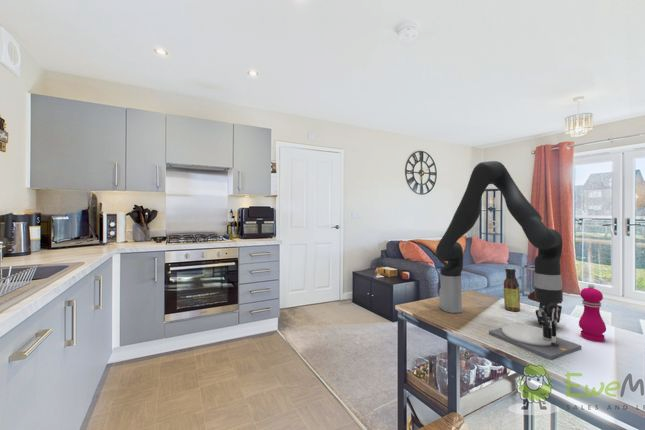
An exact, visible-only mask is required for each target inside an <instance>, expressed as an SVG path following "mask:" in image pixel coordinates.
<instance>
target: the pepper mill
mask: <svg viewBox="0 0 645 430" xmlns="http://www.w3.org/2000/svg"><path fill="white" fill-rule="evenodd" d="M580 297H581V299H582V305H583V312H582V314H581V316H580V318H579V320H578V326H579V328H580V329H581V330H580V336H581V338H583V339H586V340H588V341H591V342H598V343H602V342H604V341H605V335H604V334H605V332H606V331H607V326H606V324H605V322H604V320H603V318H602V316H601V312H600V308H601V307H602V302H601V301H602V300H603V299H604V296H603V293H602V291H600V289H597V288H595V285H594V284H593V283H589V284H587V287H585V288H582V289H581V290H580Z"/></svg>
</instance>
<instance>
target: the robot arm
mask: <svg viewBox="0 0 645 430" xmlns="http://www.w3.org/2000/svg"><path fill="white" fill-rule="evenodd" d="M489 185H494V186H495V188H497V189H498V191H499V192H500V193H501V195H502V197H503V199H504V201H505V205H506V209H507V211H508V212H509V213H510V215H511V216H512V218H513V219H514V220H516V222H517V224H518V225H520V227H521V228H522V231H523V234H524V235H525V237H526V239H528V241H529V243H530V244H531V245H532V246H533V247H535V248H536V249H538V250H537V255H536V257H535V258H534V261H533V263H534V276H533V277H534V278H533V283H534V288H533V289H534V291H535V298H536V299H537V300H539V301H540V302H539V304H540V308H539V307H538V309H535V316H536V318H537V322H538V325H539V326H541V327H542V326H543V336H544V337H545V338H549V339H551V338H552V336H554V337H557V326H558V323H560V321H561V315H562V309H563V308H562V305H559V304H562V303H561V302H563V299H564V297H563V296H564V295H563V280H562V272H561V257H562V251H563V237H562V234H560V232H559V231H558V230H556V229H553V228H548V227H546V225H545V224H544V223H543V221H542V219H543V218H542V216H541V214H540V213H539V212H538V211H537V209H536V208H535V207H534V206H533V205H532V204H531V203H530V201H529V200H528V199H527V198H526V197H525V196H524V194H523V193H522V191H521V190H520V188H519V187H518V186H517V184H516V182H515V181H514V179H513V177H512V176H511V174H510V172H509V171H508V169H507V168H506V167H505V165H504V164H503V163H502V162H500V161H496V160H493V161H492V160H491V161H482V162H479V163H478V164H476V165H475V166H474V168H473V170H472V172H471V174H470V176H469V180H468V183H467V186H466V189H465V191H464V193H463V196H462V198H461V200H460V202H459V205H458V206H457V208H456V210H455V212H454V214H453V217H452V219H451V221H450V223H449V225H448V227H447V229H446V231H445V233H444V234H443V236H442V237H441V239H440V240H439V242H438V243H437V245H436V248H435V256H436V258H437V259H438V260H439V261H441V262H447V263H446V264H445V265H443V266H442V267H440V271H439V273H440V274H439V275H440V288H439V290H438V292H439V293H438V294H439V295H438V297H439V309H441V310H442V311H444V312H447V313H450V314H451V313H453V314H458V313H462V311H463V297H462V296H463V294H462V291H463V290H462V271H463V266H464V251H463V249H464V248H463V246H462V244H460V243H459V242H458V241H459V240H460V239H461V237H463V236H465V234H467V233H468V232H469V231H471V230H472V228H473V227H474V226H475V224H476V223H477V221H478V219H479V217H480V215H481V212H482V211H481V206H482V205H481V199H482V196H483V194H484V193H485V191H486V189H487V187H488V186H489ZM557 303H559V304H557ZM539 309H540V310H539ZM551 327H552V328H551Z"/></svg>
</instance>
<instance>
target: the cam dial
mask: <svg viewBox="0 0 645 430" xmlns="http://www.w3.org/2000/svg"><path fill="white" fill-rule="evenodd" d="M541 327H542V328H541ZM541 327H538V326H534V325H529V324H524V323H523V324H521V323H507V324H504V325H502V326H501V328H502V333H503V334H504V335H505V336H507V337H508V338H510V339H513V340H515V341H518V342H521V343H525V344H530V345H536V346H550V345H554V346H557V347H558V346H559V344H557V343H556V337H557V336H555V337H554V336H552V338H551V339H549V338H545V337H544V336H543V326H541ZM551 328H552V327H551Z"/></svg>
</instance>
